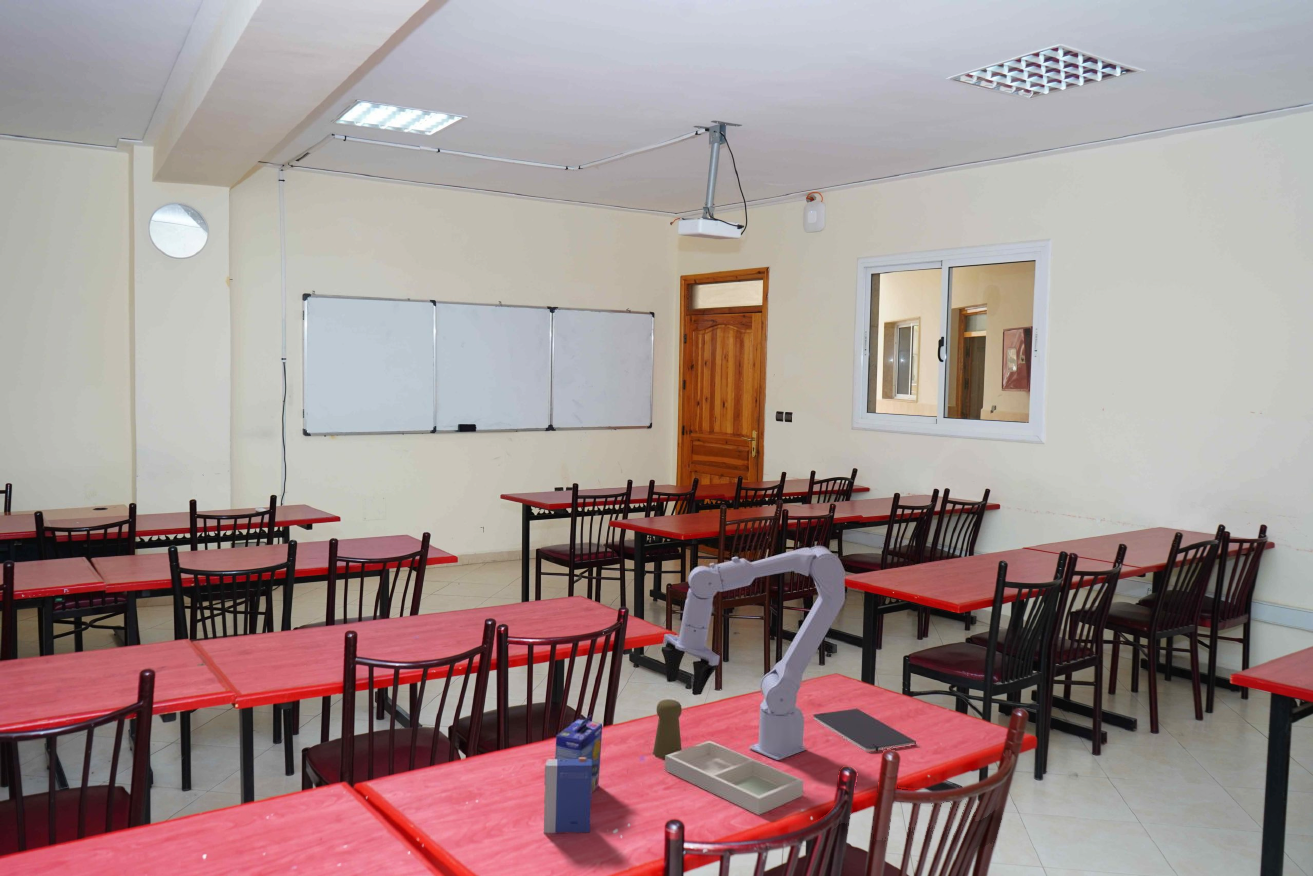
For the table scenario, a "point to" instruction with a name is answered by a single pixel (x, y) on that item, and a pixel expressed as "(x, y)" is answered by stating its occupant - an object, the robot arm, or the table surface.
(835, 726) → the notebook
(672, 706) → the olive pawn
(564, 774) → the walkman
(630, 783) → the table surface
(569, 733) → the ink cartridge box
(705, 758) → the tray
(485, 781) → the table surface
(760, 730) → the robot arm
